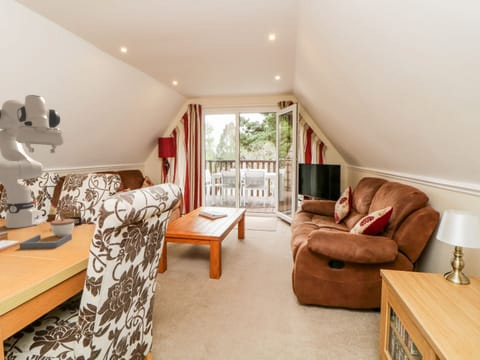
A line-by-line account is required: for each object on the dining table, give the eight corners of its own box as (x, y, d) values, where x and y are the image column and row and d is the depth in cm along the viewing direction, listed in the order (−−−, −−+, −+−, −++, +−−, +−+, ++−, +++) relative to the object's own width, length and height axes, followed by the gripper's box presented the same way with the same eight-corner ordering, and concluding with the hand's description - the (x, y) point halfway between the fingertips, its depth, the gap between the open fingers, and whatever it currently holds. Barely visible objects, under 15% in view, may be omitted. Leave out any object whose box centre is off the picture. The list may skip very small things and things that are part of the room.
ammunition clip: (61, 226, 165) (60, 206, 164) (61, 226, 167) (60, 206, 166) (81, 224, 170) (80, 205, 169) (82, 224, 171) (81, 205, 170)
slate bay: (38, 239, 140) (38, 234, 140) (71, 238, 141) (71, 234, 141) (19, 248, 126) (19, 243, 126) (56, 247, 128) (56, 242, 128)
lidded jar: (49, 239, 141) (48, 221, 140) (53, 233, 150) (52, 216, 150) (73, 236, 145) (72, 219, 145) (76, 231, 155) (75, 215, 154)
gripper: (57, 130, 151) (61, 154, 151) (12, 125, 134) (15, 153, 133) (63, 126, 148) (67, 152, 147) (17, 121, 131) (21, 149, 130)
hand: (42, 152), depth 140 cm, fingers open, 8 cm apart
